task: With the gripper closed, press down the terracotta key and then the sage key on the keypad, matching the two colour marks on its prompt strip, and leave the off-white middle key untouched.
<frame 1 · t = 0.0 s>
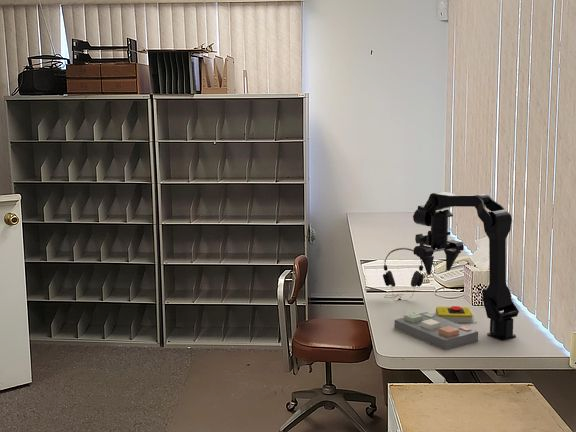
hand: (438, 272, 231), 15 cm above the table, tool pointing down, fingers open, 9 cm apart
headphones: (402, 299, 251), on the table
offwhite key: (430, 325, 211), point 4 cm above the table, slide at 0.0 cm
keypad: (430, 335, 212), on the table
terracotta key: (448, 332, 204), point 3 cm above the table, slide at 0.0 cm
emergency button: (452, 320, 228), on the table
sage key: (413, 318, 218), point 4 cm above the table, slide at 0.0 cm
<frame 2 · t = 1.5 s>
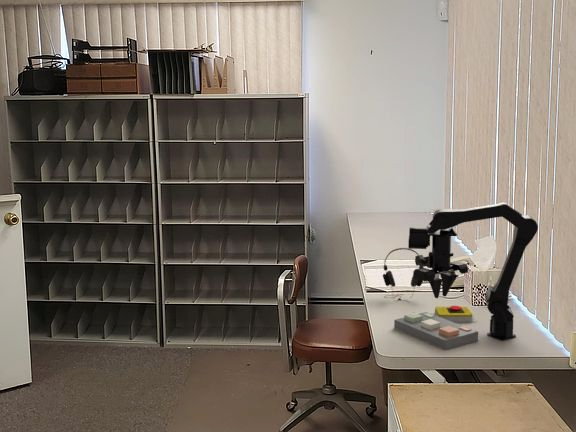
hand: (440, 297, 212), 12 cm above the table, tool pointing down, fingers open, 3 cm apart
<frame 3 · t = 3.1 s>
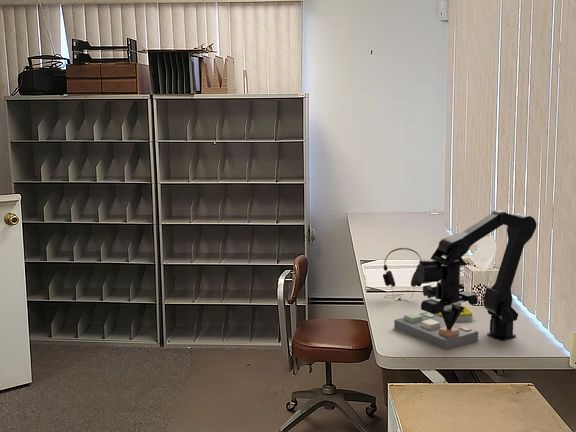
hand: (449, 329, 204), 4 cm above the table, tool pointing down, fingers closed, pressing on terracotta key
terracotta key: (448, 332, 204), point 3 cm above the table, slide at 0.0 cm, touching gripper
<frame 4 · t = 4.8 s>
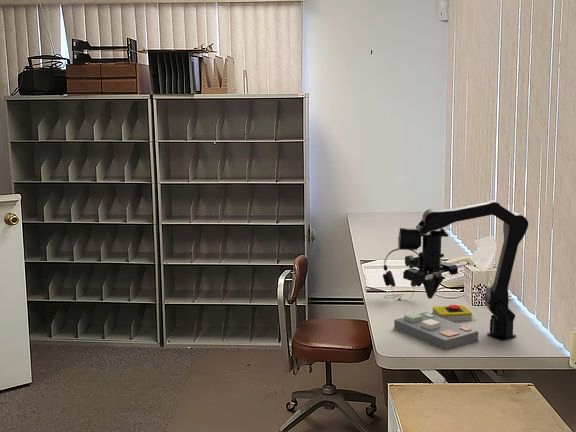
hand: (429, 298, 209), 12 cm above the table, tool pointing down, fingers closed
terracotta key: (448, 335, 205), point 2 cm above the table, slide at 1.2 cm
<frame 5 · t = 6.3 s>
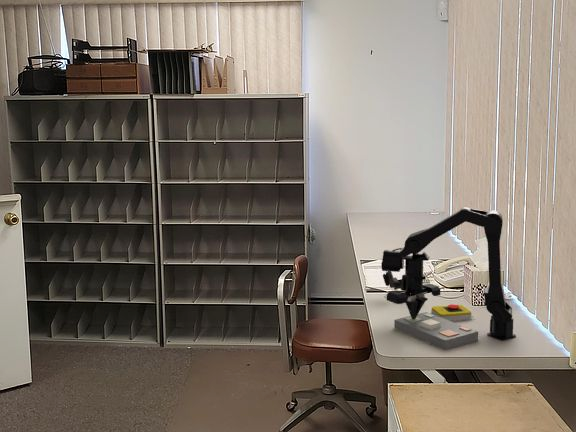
hand: (413, 318, 218), 3 cm above the table, tool pointing down, fingers closed, pressing on sage key
sage key: (413, 321, 218), point 2 cm above the table, slide at 1.1 cm, touching gripper
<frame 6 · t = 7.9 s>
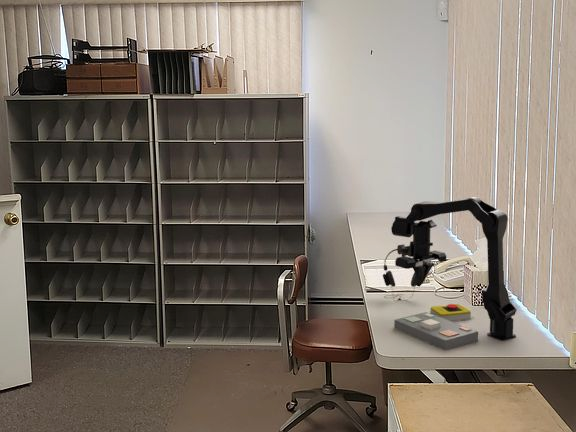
hand: (420, 283, 227), 12 cm above the table, tool pointing down, fingers closed
sage key: (413, 321, 218), point 2 cm above the table, slide at 1.2 cm
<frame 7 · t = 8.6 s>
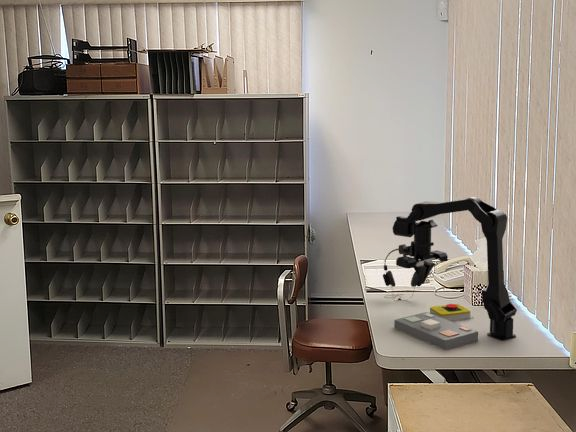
hand: (421, 283, 227), 12 cm above the table, tool pointing down, fingers closed
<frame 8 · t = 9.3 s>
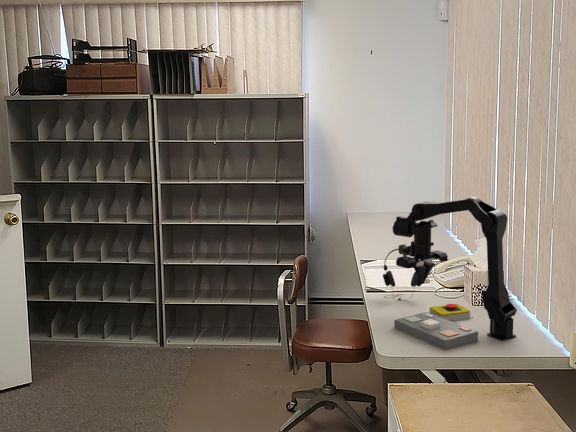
hand: (421, 283, 227), 12 cm above the table, tool pointing down, fingers closed
at the end: terracotta key slide at 1.2 cm; sage key slide at 1.2 cm; offwhite key slide at 0.0 cm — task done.
